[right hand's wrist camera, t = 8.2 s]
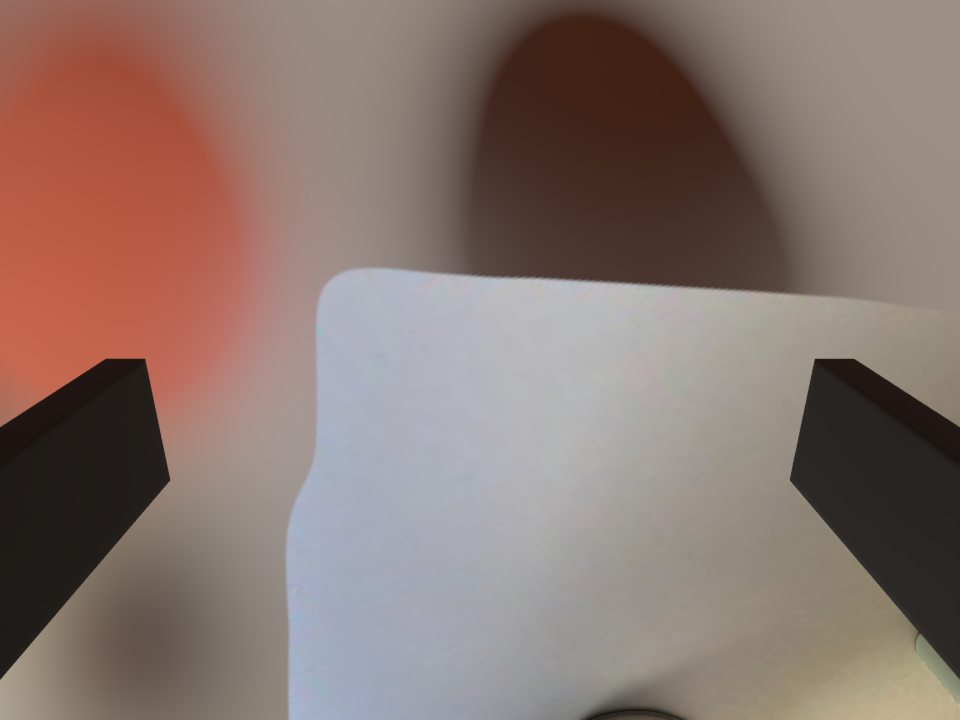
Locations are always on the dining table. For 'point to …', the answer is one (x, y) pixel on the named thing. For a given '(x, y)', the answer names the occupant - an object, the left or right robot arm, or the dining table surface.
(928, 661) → the pale green cylinder
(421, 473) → the dining table surface
